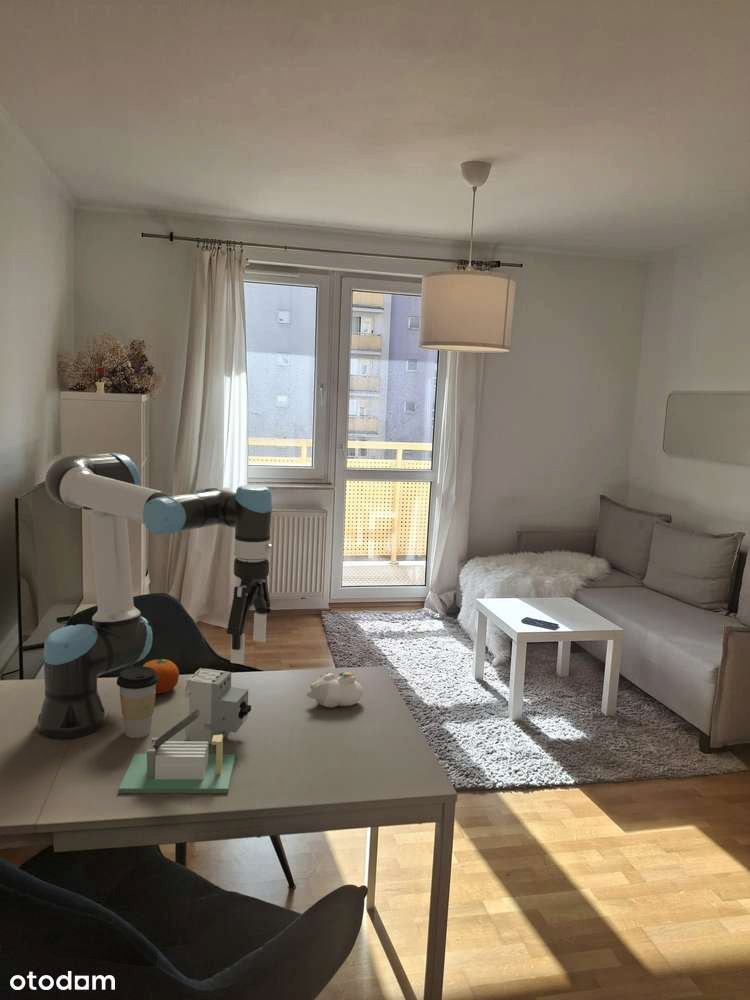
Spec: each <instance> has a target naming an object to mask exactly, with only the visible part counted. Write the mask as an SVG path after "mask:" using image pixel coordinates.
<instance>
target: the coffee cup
mask: <svg viewBox="0 0 750 1000" xmlns="http://www.w3.org/2000/svg"><path fill="white" fill-rule="evenodd" d="M158 680H159V679H158V675H157V674H156V673H155V670H154V669H152V668H150V667H144V666H143V665H142V666H132V667H128V668H125V669H123V670H122V671H121V672H120V673H119V675H118V676H117V679H116V685H117V686H118V687H119V699H120V708H121V715H122V719H123V720H122V721H123V728H124V735H125V736H126V738H127V737H128V738H131V739H139V738H144V737H146V736H149V735H150V733H151V730H152V722H153V715H154V712H155V711H154V709H155V700H156V694H157V693H156V690H155V687H156V683H157V682H158Z"/></svg>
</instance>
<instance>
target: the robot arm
mask: <svg viewBox="0 0 750 1000" xmlns="http://www.w3.org/2000/svg"><path fill="white" fill-rule="evenodd" d="M136 465H137V464H136V463H135V462H134V461H132V458H130V457H129V456H127V455H126V454H122V453H118V452H117V453H115V452H111V453H110V452H104V453H95V454H83V455H82V454H80V455H68V456H63V457H61V458H59V459H57V460H56V461H55V462H54V463H52V464H51V466H50V467H49V469H47V472H46V475H45V479H44V485H45V489H46V491H47V494H48V495H49V496H50V498H51V499H52V500H53V501H55V502H56V503H58V504H60V505H63V506H65V507H69V508H73V509H81V508H82V511H84V512H85V513H86V514H88V515H89V518H90V519H89V520H90V529H91V530H90V531H91V542H92V554H93V566H94V578H95V580H94V581H95V589H96V590H95V591H96V602H97V611H96V612H95V613H94V615H92V618H91V621H92V622H91V623H92V625H90V624H86V623H82V624H81V623H79V624H78V623H77V624H76V625H73V624H71V625H67V626H64V627H61V628H58V629H56V630H55V631H53V632H51V633H50V634H48V636H47V637H46V638H45V641H44V643H43V644H44V646H43V647H44V648H43V653H42V658H43V662H44V664H43V667H44V669H43V670H44V672H43V673H44V674H43V675H44V699H43V702H42V705H41V710H40V713H39V714H38V717H37V722H36V723H37V731H38V733H39V734H41V736H44V737H46V738H51V739H57V740H59V739H60V740H62V739H63V740H64V739H67V740H68V739H74V738H75V739H76V738H81V737H84V736H87V735H91V734H93V733H95V732H97V731H98V730H100V729H101V728H103V726H104V725H105V723H106V711H105V707H104V706H103V702H102V700H101V698H100V697H101V696H100V694H99V691H98V677H100V676H103V675H105V674H107V673H111V672H113V671H116V670H119V669H122V668H125V667H129V666H132V665H134V664H136V663H138V662H140V661H141V660H143V659H144V658H146V657H147V655H148V654H149V653H150V650H151V648H152V645H153V630H152V626H150V625H149V621H148V619H147V618H145V617H144V616H142V615H141V614H142V613H141V611H140V609H138V608H137V607H136V606H135V605H134V592H133V580H132V578H133V577H132V567H131V556H130V552H131V551H130V543H129V542H130V541H129V540H130V539H129V530H128V520H130V521H133V522H137V523H141V524H144V526H145V527H146V528H147V529H148V530H149V531H150V533H152V534H153V535H160V536H161V535H174V534H175V533H180V532H185V531H191V530H195V529H196V530H197V529H202V528H207V527H211V526H224V527H230V528H234V548H233V555H234V557H235V558H234V562H233V576H235V577H236V578H239V579H240V580H241V581H240V584H239V586H234V588H233V599H232V604H231V607H230V614H229V618H228V619H229V620H228V624H227V628H226V634H227V635H231V636H230V637H231V638H230V661H229V662H230V663H232V664H237V665H238V664H239V665H244V664H245V642H246V641H245V640H246V639H245V637H246V634H245V632H244V631H245V627H246V623H247V620H248V616H249V612H250V610H251V607H253V606H254V607H253V608H254V611H255V613H254V614H253V636H252V639H253V640H252V641H253V642H260V643H266V641H267V640H266V637H267V636H266V635H267V616H268V615H267V614H271V611H272V609H271V599H270V593H269V587H268V586H269V585H268V577H269V575H270V559H269V557H270V552H271V551H270V550H272V548H273V545H272V544H270V543H271V526H272V525H271V523H272V511H273V505H272V491H271V489H270V488H269V487H266V486H264V485H254V484H248V485H247V484H246V485H244V484H243V485H241V486H238V487H237V488H236V492H233V491H228V490H223V489H219V488H217V487H201V488H199V489H198V490H196V491H195V492H193V493H185V494H172V493H169V492H164V491H161V490H158V489H152V488H149V487H145V486H141V484H142V483H141V475H140V473H139V472H140V471H139V469H138V467H137V466H136Z"/></svg>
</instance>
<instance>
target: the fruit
mask: <svg viewBox="0 0 750 1000" xmlns="http://www.w3.org/2000/svg"><path fill="white" fill-rule="evenodd" d="M142 666H144V667H150V668H152V669H154V670H155V673H156V674H157V675H158V679H159V680H158V682H157V683H156V687H155V690H156V693H155V694H164V693H167V692H169V691H171V690H173V689H174V688H175V687H176V686H177V684H178V682H179V678H180V670H179V668H178V666H177V665H176V664H175V663H174V662H173V661H171V660H169V659H166V658H165V659H164V658H161V659H160V658H159V659H152V660H150V661H147V662H145V663H144V664H143V665H142Z"/></svg>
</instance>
